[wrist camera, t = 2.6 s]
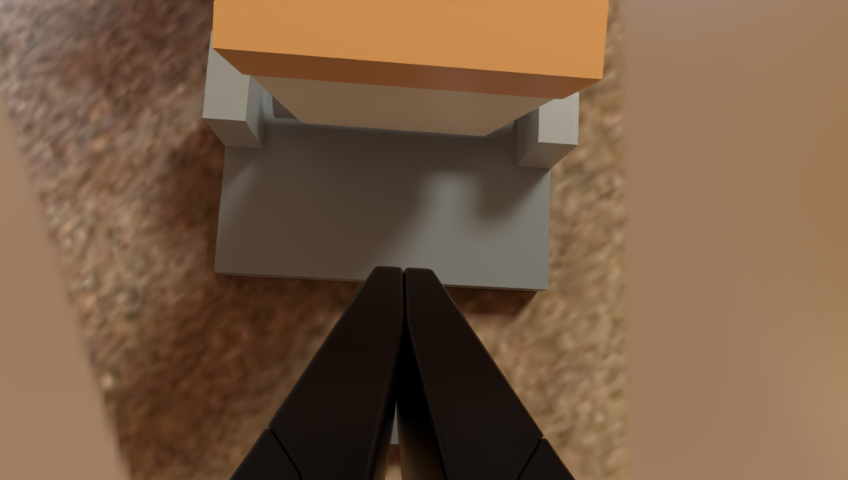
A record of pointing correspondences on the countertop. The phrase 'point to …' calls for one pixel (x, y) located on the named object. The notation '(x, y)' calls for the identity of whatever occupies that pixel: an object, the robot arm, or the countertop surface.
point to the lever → (414, 58)
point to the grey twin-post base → (381, 193)
